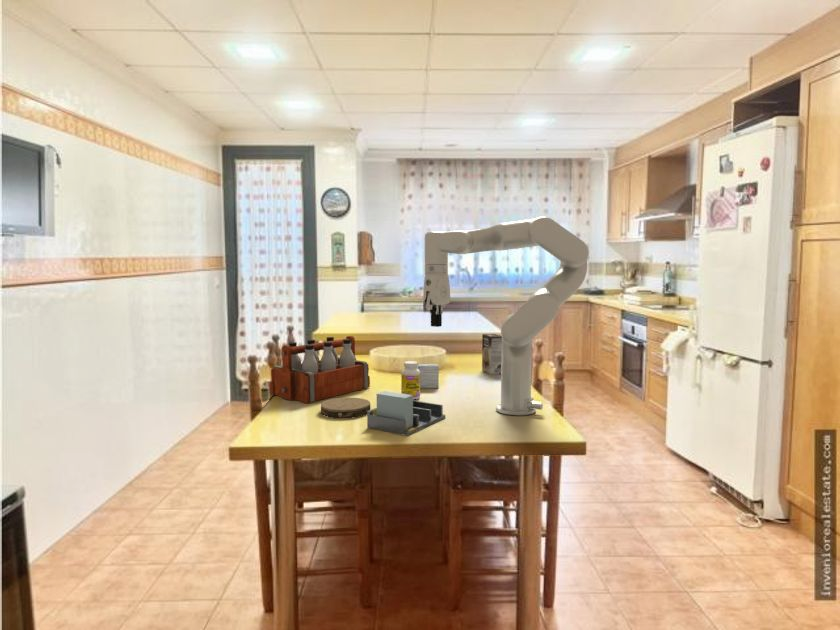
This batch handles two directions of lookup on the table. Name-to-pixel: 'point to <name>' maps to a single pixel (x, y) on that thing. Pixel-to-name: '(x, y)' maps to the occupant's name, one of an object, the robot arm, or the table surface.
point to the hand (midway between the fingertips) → (436, 326)
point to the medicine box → (429, 375)
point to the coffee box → (491, 353)
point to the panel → (395, 406)
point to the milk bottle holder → (319, 371)
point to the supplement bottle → (410, 379)
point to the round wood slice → (345, 407)
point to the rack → (421, 418)
